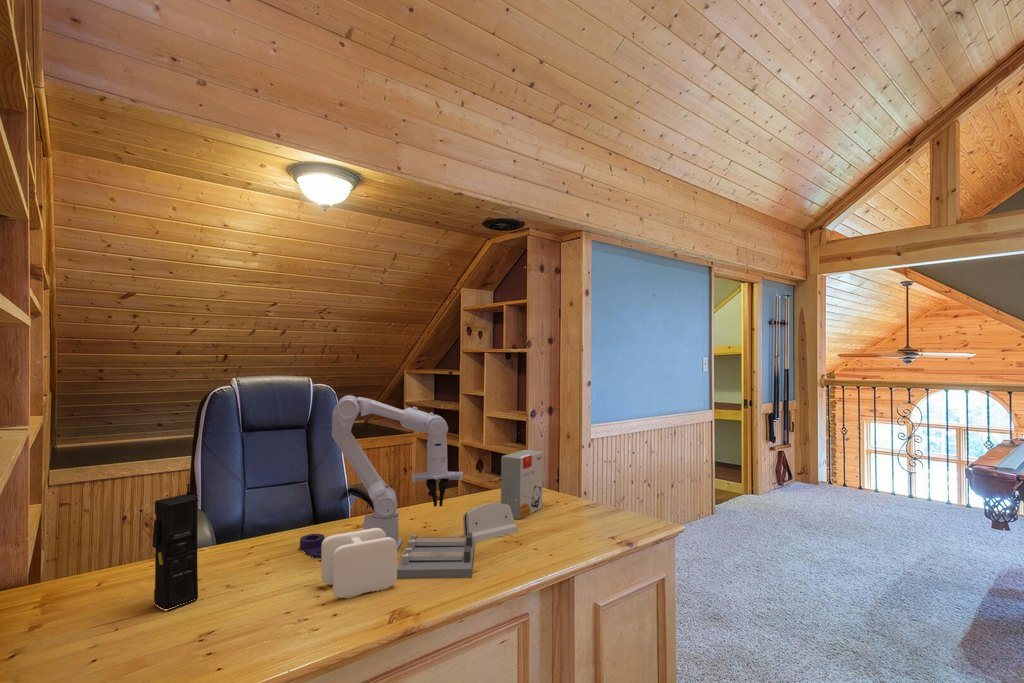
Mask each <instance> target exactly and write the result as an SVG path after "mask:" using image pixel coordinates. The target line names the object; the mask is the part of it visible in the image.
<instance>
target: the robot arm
mask: <svg viewBox="0 0 1024 683" xmlns="http://www.w3.org/2000/svg"><path fill="white" fill-rule="evenodd" d="M359 413H360V417H363V416H368V415H371V414H373V415H376V416H380V417H384V418H387V419H390V420H391V419H392V420H395V421H397V422H398V421H399V422H400V426H401V427H402V428H404V429H405V428H406V429H409V430H412V431H416V432H419V433H421V434H424V433H427V443H426V450H427V451H426V456H427V467H426V468H427V471H425V472H424V471H423V472H414V473H412V474H411V482H413V483H414V482H419V481H420V482H422V481H424V482H425V481H426V483H425V484H426V488H427V490H428V492H429V493H430V496H431V498H432V502H433V507H437V506H438V505H439V507H443V504H444V503H443V502H444V496H445V493H446V489H447V487H448V484H449V481H453V480H454V481H455V480H456V481H457V480H459V481H463V480H464V471H450V470H448V468H449V467H448V440H447V439H448V438H447V433H448V432H449V426H448V423H447V421H446V420H445V418H443V417H442V416H440V415H438V414H434V412H429V413H428V412H426V411H423V410H419V409H418V406H417V407H416V406H412V407H407V408H405V409H401V408H397V407H396V406H395V407H394V406H392V405H389V404H386V403H383V402H380V401H377V400H374V399H371V398H367V397H362V396H357V397H356V396H355V395H352V394H348V395H343V396H342V397H341V398H340V399H339V401H338V402H337V403H336V405H335V406H334V409H333V412H332V415H331V416H332V423H331V424H332V425H331V426H332V427H331V437H332V438H333V440H334V442H335V444H336V445H337V446H338V448H339V450H340V451H341V453H342V454H343V456H344V457H345V459H346V460H347V462H348V464H350V466H351V468H352V469H353V471H354V473H355V474H356V476H357V477H358V478H359V480H360V481H361V483H362V484H363V486H364V488H365V489H366V491H367V493H368V496H369V499H370V500H371V502H372V504H373V511H372V512H371V514H365V515H364V518H363V523H362V526H363V527H362V530H366V529H371V528H380V529H382V530H383V531H384V532H385V534H386V537H390V538H393V539H394V540H395V541H396V543H397V551H398V550H399V548H400V545H401V544H402V541H403V539H402V538H401V539H400V538H399V517H400V516H399V510H398V501H397V492H396V491H395V489H394V488H391V487H390V486H389V485H388V484H387V483H386V482H385V480H383V479H382V478H381V476H380V474H379V473H378V472H377V470H376V468H375V467H374V465H373V464H372V463H371V461H370V459H369V457H368V456H367V454H366V453H365V451H364V450H363V448H362V446H361V445H360V443H359V442H358V440H357V439H356V437H355V436H354V435H353V433H352V428H353V425H354V421H356V419H357V417H358V416H359ZM437 481H439V482H438V486H439V503H438V495H437Z"/></svg>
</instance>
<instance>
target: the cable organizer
mask: <svg viewBox="0 0 1024 683" xmlns="http://www.w3.org/2000/svg"><path fill="white" fill-rule="evenodd" d="M320 559H321V572H320V573H321V580H322V582H323V584H326V585H332V591H333V592H332V593H333V594H334V595H335V596H336V597H338V598H341V599H343V598H344V599H345V598H348V599H351V598H350V597H352V598H354V597H353V596H355V597H358V596H357V595H359V596H360V595H362V594H365V593H369V592H373V593H375V592H374V591H377V592H380V591H379V590H381V591H384V590H383V589H385V590H387V589H389V588H390V587H391V586H393V585H394V584H395V583H396V581H397V580H398V578H397V568H398V550H397V543H396V541H395V540H394V539H393V538H390V537H386V534H385V532H384V531H383V530H382V529H380V528H371V529H366V530H363V529H362V530H361V529H360V530H354V531H349V532H343V533H339V534H338V533H337V534H331V535H329V536H327V537H324V540H323V542H322V547H321V558H320Z"/></svg>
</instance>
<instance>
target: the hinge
mask: <svg viewBox="0 0 1024 683" xmlns="http://www.w3.org/2000/svg"><path fill="white" fill-rule="evenodd" d="M462 520H463V521H462V524H463V525H462V526H463V537H466V535H467V533H472V537H475V544H476V542H477V543H480V541H481V542H484V541H483V540H485V541H487V540H486V539H489V540H491V539H490V538H493V539H496V538H495V537H497V538H499V537H498V536H502V535H506V534H510V533H514V532H518V533H519V527H518V525H517V524H516V523H515V519H514V518H513V515H512V512H511V508H510V506H509V505H507V504H501V502H488V503H484V504H483V503H482V504H480V505H478V506H475V507H472V508H471V509H469V510H468V511H466V512H465V513H464V514H463V515H462ZM514 534H515V533H514ZM510 535H511V534H510ZM506 536H507V535H506ZM502 537H503V536H502Z"/></svg>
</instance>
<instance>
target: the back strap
mask: <svg viewBox="0 0 1024 683" xmlns="http://www.w3.org/2000/svg"><path fill="white" fill-rule="evenodd" d="M410 539H411V538H410ZM411 540H415V546H464V545H465V538H433V537H418V538H415V537H413V538H412V539H411Z"/></svg>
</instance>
